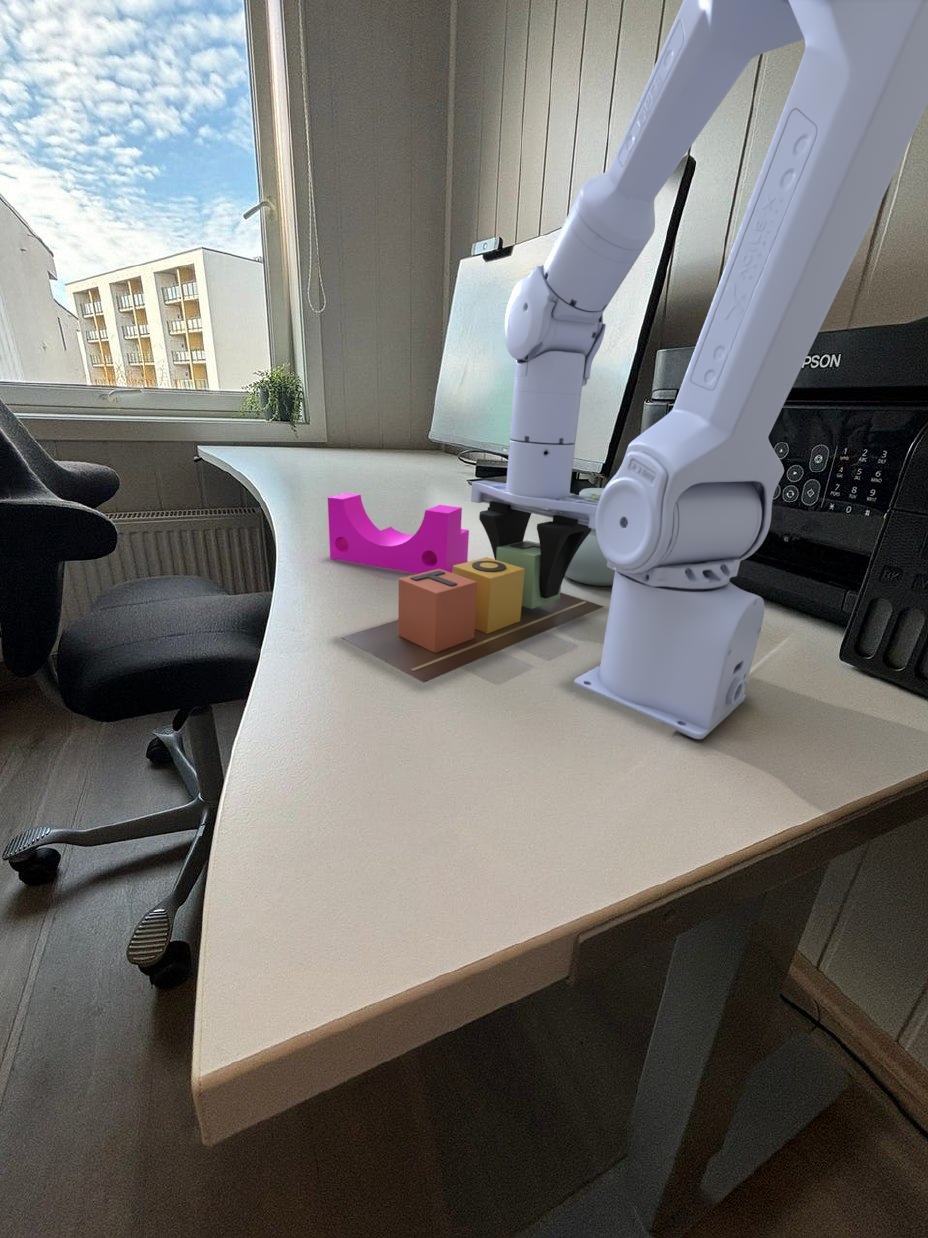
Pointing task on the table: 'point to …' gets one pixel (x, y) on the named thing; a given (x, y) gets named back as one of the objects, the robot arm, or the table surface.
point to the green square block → (526, 570)
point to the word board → (432, 665)
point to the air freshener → (590, 555)
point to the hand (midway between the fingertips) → (527, 588)
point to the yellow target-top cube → (494, 592)
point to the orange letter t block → (437, 609)
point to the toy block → (396, 538)
